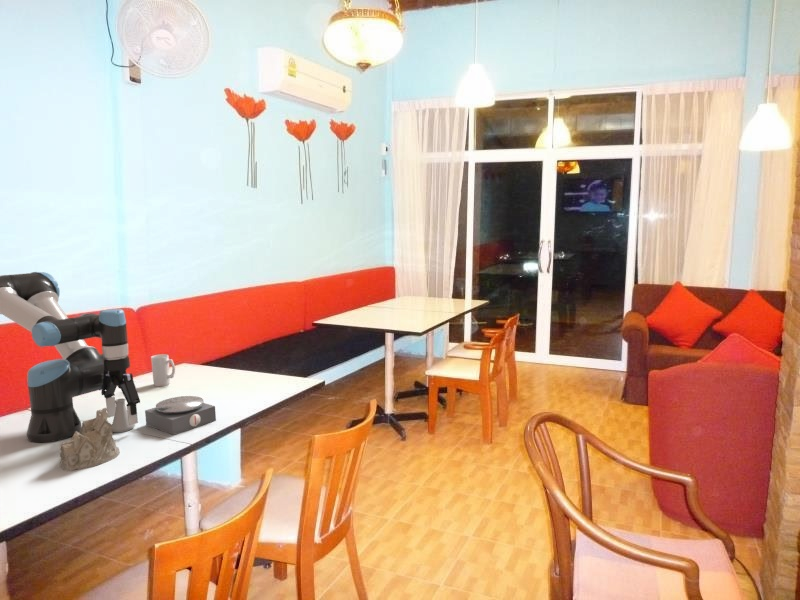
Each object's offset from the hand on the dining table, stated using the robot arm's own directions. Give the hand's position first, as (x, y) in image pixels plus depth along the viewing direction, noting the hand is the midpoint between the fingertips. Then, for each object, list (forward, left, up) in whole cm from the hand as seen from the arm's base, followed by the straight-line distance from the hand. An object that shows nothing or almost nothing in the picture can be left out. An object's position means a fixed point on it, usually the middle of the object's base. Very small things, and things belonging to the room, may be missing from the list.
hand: (122, 420), depth 191 cm
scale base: (+14, -11, -3) cm, 18 cm away
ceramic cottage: (-17, -14, -3) cm, 23 cm away
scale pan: (+14, -11, +3) cm, 18 cm away
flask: (0, 0, -3) cm, 3 cm away
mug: (+37, +36, -3) cm, 52 cm away
